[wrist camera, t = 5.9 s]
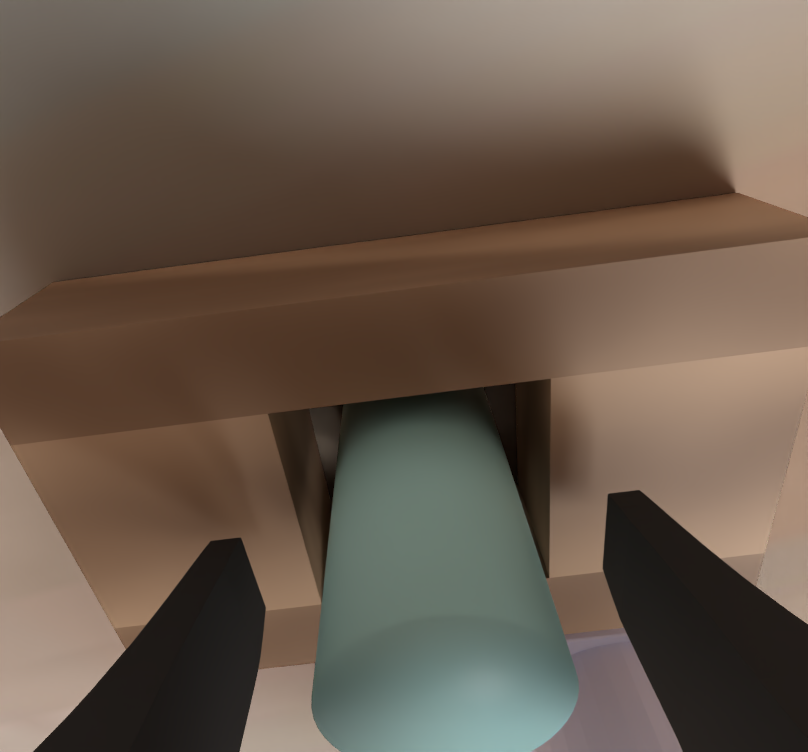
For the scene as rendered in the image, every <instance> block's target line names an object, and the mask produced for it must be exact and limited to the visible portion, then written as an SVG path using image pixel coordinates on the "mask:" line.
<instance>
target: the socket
mask: <svg viewBox="0 0 808 752" xmlns="http://www.w3.org/2000/svg"><path fill="white" fill-rule="evenodd" d="M511 383H515V391H516V426H517V462H518V484H517V485H516V488H517V491H518V494H519V498H520V501H521V504H522V507H523V510H524V513H525V516H526V519H527V522H528V525H529V528H530V531H531V534H532V537H533V540H534V544H535V547H536V550H537V553H538V556H539V559H540V562H541V565H542V568H543V571H544V574H545V577H546V580H547V583H548V586H549V590H550V593H551V596H552V599H553V602H554V605H555V608H556V611H557V614H558V617H559V620H560V623H561V626H562V629H563V632H564V635H565V634H574V633H582V632H591V631H600V630H609V629H618V628H624V627H623V625H622V622H621V620H620V618H619V615H618V612H617V609H616V607H615V604H614V601H613V598H612V595H611V592H610V589H609V587H608V584H607V581H606V578H605V575H604V572H603V569H602V568H603V554H604V540H605V526H606V512H607V498H608V494H609V493H618V492H626V491H634V490H640V491H641V492H643V493H644V494H645V495H646V496H647V497H649V498H650V499H651V500H652V501H653V502H654V503H656V504H657V505H658V506H659V507H660V508H661V509H663V510H664V511H665V512H666V513H667V514H668V515H669V516H671V517H672V518H673V519H674V520H675V521H676V522H677V523H679V524H680V525H681V526H682V527H683V528H684V529H686V530H687V531H688V532H689V533H690V534H692V535H693V536H694V537H695V538H696V539H697V540H699V541H700V542H701V543H702V544H703V545H705V546H706V547H707V548H708V549H709V550H711V551H712V552H713V553H714V554H715V555H717V556H718V557H719V558H720V559H722V560H723V561H724V562H725V563H727V564H728V565H729V566H730V567H732V568H733V569H734V570H735V571H737V572H738V573H739V574H740V575H742V576H743V577H744V578H745V579H747V580H748V581H749V582H751V583H752V584H753V585H754V586H756V584H757V581H758V577H759V573H760V569H761V566H762V562H763V558H764V554H765V551H766V547H767V543H768V539H769V536H770V532H771V528H772V524H773V520H774V517H775V513H776V509H777V505H778V502H779V498H780V494H781V490H782V487H783V483H784V479H785V475H786V471H787V468H788V464H789V460H790V456H791V453H792V449H793V445H794V441H795V438H796V434H797V430H798V426H799V423H800V419H801V415H802V411H803V407H804V404H805V400H806V396H807V392H808V217H805V216H803V215H800V214H797V213H794V212H791V211H788V210H785V209H783V208H780V207H777V206H774V205H771V204H768V203H765V202H763V201H760V200H757V199H754V198H751V197H748V196H745V195H742V194H740V193H732V194H724V195H717V196H709V197H701V198H694V199H686V200H678V201H671V202H663V203H655V204H648V205H640V206H632V207H625V208H617V209H609V210H602V211H594V212H587V213H579V214H571V215H564V216H556V217H548V218H541V219H533V220H525V221H518V222H510V223H502V224H495V225H487V226H480V227H472V228H464V229H457V230H449V231H441V232H434V233H426V234H418V235H411V236H403V237H395V238H388V239H380V240H373V241H365V242H357V243H350V244H342V245H334V246H327V247H319V248H311V249H304V250H296V251H288V252H281V253H273V254H266V255H258V256H250V257H243V258H235V259H227V260H220V261H212V262H204V263H197V264H189V265H181V266H174V267H166V268H159V269H151V270H143V271H136V272H128V273H120V274H113V275H105V276H97V277H90V278H82V279H74V280H67V281H59V282H53V283H51V284H50V285H48V286H47V287H45V288H44V289H42V290H41V291H39V292H38V293H36V294H35V295H33V296H32V297H30V298H29V299H27V300H26V301H24V302H23V303H21V304H20V305H18V306H16V307H15V308H13V309H12V310H10V311H9V312H7V313H6V314H4V315H3V316H1V317H0V428H1V430H2V431H3V433H4V435H5V437H6V438H7V440H8V442H9V444H10V446H11V447H12V449H13V451H14V453H15V454H16V456H17V458H18V460H19V461H20V463H21V465H22V467H23V468H24V470H25V472H26V474H27V476H28V477H29V479H30V481H31V483H32V484H33V486H34V488H35V490H36V491H37V493H38V495H39V497H40V498H41V500H42V502H43V504H44V506H45V507H46V509H47V511H48V513H49V514H50V516H51V518H52V520H53V521H54V523H55V525H56V527H57V529H58V530H59V532H60V534H61V536H62V537H63V539H64V541H65V543H66V544H67V546H68V548H69V550H70V551H71V553H72V555H73V557H74V559H75V560H76V562H77V564H78V566H79V567H80V569H81V571H82V573H83V574H84V576H85V578H86V580H87V581H88V583H89V585H90V587H91V589H92V590H93V592H94V594H95V596H96V597H97V599H98V601H99V603H100V604H101V606H102V608H103V610H104V611H105V613H106V615H107V617H108V619H109V620H110V622H111V624H112V626H113V627H114V629H115V631H116V633H117V634H118V636H119V638H120V640H121V642H122V643H123V645H124V647H125V649H127V648H128V647H129V646H130V644H131V643H132V642H133V641H134V639H135V638H136V637H137V636H138V634H139V633H140V632H141V631H142V629H143V628H144V627H145V625H146V624H147V623H148V622H149V620H150V619H151V618H152V617H153V615H154V614H155V613H156V612H157V610H158V609H159V608H160V606H161V605H162V604H163V603H164V601H165V600H166V599H167V597H168V596H169V595H170V593H171V592H172V591H173V589H174V588H175V587H176V585H177V584H178V583H179V581H180V580H181V579H182V577H183V576H184V575H185V573H186V572H187V571H188V569H189V568H190V567H191V566H192V564H193V563H194V562H195V560H196V559H197V558H198V556H199V555H200V554H201V552H202V551H203V550H204V549H205V547H206V546H207V545H208V543H209V542H210V541H214V540H223V539H231V538H240V537H241V539H242V542H243V545H244V547H245V550H246V553H247V556H248V559H249V561H250V564H251V567H252V570H253V573H254V575H255V578H256V581H257V584H258V587H259V590H260V592H261V595H262V598H263V601H264V604H265V606H266V611H265V622H264V632H263V641H262V649H261V657H260V663H259V668H258V669H265V668H274V667H283V666H291V665H300V664H309V663H315V661H316V652H317V643H318V633H319V624H320V615H321V605H322V596H323V587H324V578H325V568H326V559H327V550H328V540H329V531H330V522H331V512H332V504H331V500H330V496H329V492H328V488H327V484H326V479H325V475H324V471H323V467H322V463H321V459H320V454H319V450H318V446H317V442H316V438H315V434H314V429H313V425H312V421H311V417H310V413H309V409H310V408H318V407H326V406H334V405H342V404H350V403H358V402H366V401H374V400H382V399H390V398H398V397H407V396H415V395H423V394H431V393H439V392H447V391H455V390H463V389H471V388H479V387H487V386H495V385H503V384H511Z"/></svg>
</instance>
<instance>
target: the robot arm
mask: <svg viewBox="0 0 808 752" xmlns="http://www.w3.org/2000/svg"><path fill="white" fill-rule="evenodd" d="M602 569H603V572H604V575H605V578H606V581H607V584H608V587H609V589H610V592H611V595H612V598H613V601H614V604H615V607H616V609H617V612H618V615H619V618H620V620H621V622H622V625H623V627H624V628H618V629H609V630H600V631H591V632H582V633H574V634H565V635H564V636H565V639H566V642H567V645H568V648H569V651H570V654H571V657H572V660H573V663H574V666H575V669H576V673H577V676H578V681H579V693H578V699H577V703H576V705H575V708H574V710H573V712H572V714H571V716H570V717H569V719H568V721H567V722H566V723H565V724H564V725H563V727H562V728H561V729H560V730H559V731H558V732H557V733H556V734H555V735H554V736H553V737H552V738H551V739H549V740H548V741H546V742H545V743H544V744H542V745H541V746H540V747H538V748H536V749H535V750H533V751H531V752H808V624H806V623H805V622H804V621H802V620H801V619H799V618H798V617H796V616H795V615H794V614H792V613H791V612H789V611H788V610H787V609H785V608H784V607H783V606H781V605H780V604H779V603H777V602H776V601H774V600H773V599H772V598H770V597H769V596H768V595H766V594H765V593H764V592H762V591H761V590H760V589H758V588H757V587H756V586H754V585H753V584H752V583H751V582H749V581H748V580H747V579H745V578H744V577H743V576H742V575H740V574H739V573H738V572H737V571H735V570H734V569H733V568H732V567H730V566H729V565H728V564H727V563H725V562H724V561H723V560H722V559H720V558H719V557H718V556H717V555H715V554H714V553H713V552H712V551H711V550H709V549H708V548H707V547H706V546H705V545H703V544H702V543H701V542H700V541H699V540H697V539H696V538H695V537H694V536H693V535H692V534H690V533H689V532H688V531H687V530H686V529H684V528H683V527H682V526H681V525H680V524H679V523H677V522H676V521H675V520H674V519H673V518H672V517H671V516H669V515H668V514H667V513H666V512H665V511H664V510H663V509H661V508H660V507H659V506H658V505H657V504H656V503H654V502H653V501H652V500H651V499H650V498H649V497H647V496H646V495H645V494H644V493H643V492H641V491H640V490H634V491H626V492H618V493H609V494H608V498H607V512H606V526H605V540H604V554H603V568H602ZM265 611H266V606H265V604H264V601H263V598H262V595H261V592H260V590H259V587H258V584H257V581H256V578H255V575H254V573H253V570H252V567H251V564H250V561H249V559H248V556H247V553H246V550H245V547H244V545H243V542H242V539H241V537H240V538H231V539H223V540H214V541H210V542H209V543H208V545H207V546H206V547H205V549H204V550H203V551H202V552H201V554H200V555H199V556H198V558H197V559H196V560H195V562H194V563H193V564H192V566H191V567H190V568H189V569H188V571H187V572H186V573H185V575H184V576H183V577H182V579H181V580H180V581H179V583H178V584H177V585H176V587H175V588H174V589H173V591H172V592H171V593H170V595H169V596H168V597H167V599H166V600H165V601H164V603H163V604H162V605H161V606H160V608H159V609H158V610H157V612H156V613H155V614H154V615H153V617H152V618H151V619H150V620H149V622H148V623H147V624H146V625H145V627H144V628H143V629H142V631H141V632H140V633H139V634H138V636H137V637H136V638H135V639H134V641H133V642H132V643H131V644H130V646H129V647H128V648H127V649H126V650H125V652H124V653H123V654H122V655H121V656H120V657H119V659H118V660H117V661H116V662H115V663H114V664H113V666H112V667H111V668H110V669H109V670H108V671H107V673H106V674H105V675H104V676H103V677H102V679H101V680H100V681H99V682H98V683H97V684H96V686H95V687H94V688H93V689H92V690H91V691H90V692H89V693H88V695H87V696H86V697H85V698H84V699H83V700H82V701H81V702H80V703H79V705H78V706H77V707H76V708H75V709H74V710H73V711H72V712H71V713H70V714H69V715H68V716H67V718H66V719H65V720H64V721H63V722H62V723H61V724H60V725H59V726H58V727H57V728H56V729H55V730H54V731H53V732H52V733H51V734H50V735H49V736H48V737H47V738H46V739H45V740H44V741H43V742H42V743H41V744H40V745H39V746H38V747H37V748H36V749H35V750H34V751H33V752H239V751H240V747H241V743H242V738H243V734H244V730H245V725H246V721H247V717H248V712H249V708H250V704H251V699H252V695H253V690H254V686H255V681H256V677H257V673H258V668H259V663H260V657H261V649H262V641H263V632H264V622H265Z"/></svg>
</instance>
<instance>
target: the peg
mask: <svg viewBox="0 0 808 752" xmlns="http://www.w3.org/2000/svg"><path fill="white" fill-rule="evenodd" d="M578 693H579V681H578V676H577V673H576V669H575V666H574V663H573V660H572V657H571V654H570V651H569V648H568V645H567V642H566V639H565V636H564V632H563V629H562V626H561V623H560V620H559V617H558V614H557V611H556V608H555V605H554V602H553V599H552V596H551V593H550V590H549V586H548V583H547V580H546V577H545V574H544V571H543V568H542V565H541V562H540V559H539V556H538V553H537V550H536V547H535V544H534V540H533V537H532V534H531V531H530V528H529V525H528V522H527V519H526V516H525V513H524V510H523V507H522V504H521V501H520V498H519V494H518V491H517V488H516V485H515V482H514V479H513V476H512V473H511V470H510V467H509V464H508V461H507V458H506V455H505V452H504V448H503V445H502V442H501V439H500V436H499V433H498V430H497V427H496V424H495V421H494V418H493V415H492V412H491V409H490V406H489V402H488V399H487V396H486V393H485V390H484V388H483V387H479V388H471V389H463V390H455V391H447V392H439V393H431V394H423V395H415V396H407V397H398V398H390V399H382V400H374V401H366V402H358V403H350V404H343V410H342V419H341V428H340V438H339V447H338V456H337V466H336V475H335V484H334V494H333V503H332V512H331V522H330V531H329V540H328V550H327V559H326V568H325V578H324V587H323V596H322V605H321V615H320V624H319V633H318V643H317V652H316V661H315V671H314V680H313V689H312V713H313V717H314V720H315V722H316V725H317V727H318V729H319V730H320V732H321V733H322V734H323V736H324V737H325V738H326V739H327V740H328V741H329V742H330V743H331V744H332V745H333V746H334V747H335V748H337V749H338V750H339V751H341V752H531V751H533V750H535V749H536V748H538V747H540V746H541V745H542V744H544V743H545V742H546V741H548V740H549V739H551V738H552V737H553V736H554V735H555V734H556V733H557V732H558V731H559V730H560V729H561V728H562V727H563V725H564V724H565V723H566V722H567V721H568V719H569V717H570V716H571V714H572V712H573V710H574V708H575V705H576V703H577V699H578Z"/></svg>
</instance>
